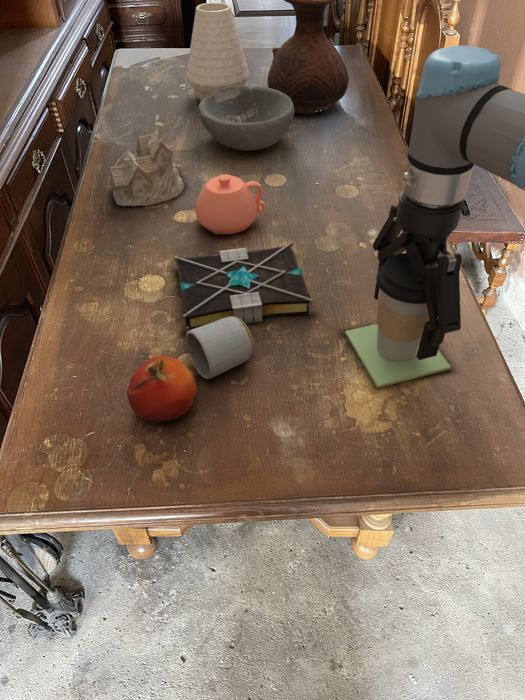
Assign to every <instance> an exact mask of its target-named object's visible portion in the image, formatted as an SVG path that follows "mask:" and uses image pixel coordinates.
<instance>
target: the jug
mask: <svg viewBox="0 0 525 700" xmlns="http://www.w3.org/2000/svg"><path fill="white" fill-rule="evenodd" d="M283 1H284V2H286V3H288V4H290V5H291V6H292V8H293V10H294V13H295V29H294V33H293V35H292V36H291V37H289V38H288V39H287V40H285V42H283V43H282V45H281V46H280V47H272V49H271V50H272V60H271V65H270V68H269V70H268V73H267V80H266V82H267V83H266V84H267V88H271V89H275V90H278V91H280V92H282V93H284V94H286V95H287V96H288V97H289V98H290V99H291V100H292V102H293V105H294V114H300V115H314V114H318V113H322V112H324V111H327V110H328V109H330V108H331V107H333V106H334V105H335V104H337V103H338V102H339V101H340V100H341V99H342V98H344V96H345V95H346V92H347V90H348V87H349V79H350V78H349V72H348V69H347V66H346V64H345V62H344V60H343V57H342V56H341V54H340V52H339V50H338V49H337V48H336V46H335V45H334V44H333V42H331V40H330V39H329V38H328V37H327V36H326V32H325V25H324V23H325V22H324V21H325V20H324V19H325V18H324V17H325V11H326V7H327V6H328V5H329V4H332V3H335V2H336V0H283ZM326 108H327V109H326ZM320 110H321V111H320ZM316 111H317V112H316Z"/></svg>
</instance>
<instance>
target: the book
mask: <svg viewBox="0 0 525 700" xmlns="http://www.w3.org/2000/svg"><path fill="white" fill-rule="evenodd" d="M293 247H294V242H292V241H290V242H289V243H286V245H281V246H276V247H272V248H271V247H270V248H266V249H261V250H260V249H259V250H252V251H251V250H250V251H248V250H247V247H240V248H233V249H231V248H230V249H225V250H224V249H223V250H219V254H214V255H205V256H193V257H180V256H177V255H175V256H174V262H176V267H175V268H174V269H175V272H176V273H177V274H178V275H177V276H178V280H179V286H180V294H181V301H182V307H183V308H182V309H183V315H182V320H183V321H184V322H185V331H186V333H187V332H188V331H190V330H192V329H195V328H198V327H201V326H204V325H207V324H210V323H213V322H215V321H218V320H220V319H223V318H227V317H233V316H234V317H238V318H240V319H241V320H242V321H243V322H244V323H245V324H251V323H257V322H263V318H269V317H276V316H277V317H278V316H290V315H291V316H292V315H309V316H312V310H311V309H310V306H309V303H310V304H311V305H313V303H314V298H311V295H310V292H309V290H308V287H307V285H306V282H305V279H304V277H303V273H302V266H300V265H299V263H298V260H297V258H296V254H295V251H294V249H293Z"/></svg>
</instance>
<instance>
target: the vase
mask: <svg viewBox="0 0 525 700" xmlns="http://www.w3.org/2000/svg"><path fill="white" fill-rule="evenodd" d="M190 40H191V41H190V47H189V54H188V59H187V60H188V61H187V67H186V74H185V76H186V80H187V82H188V84H189V85H190V87H191V89H192V90H193V92H194V93H195V95H196V97H197V98H198V100H199V99H200V100H201V101H202V100H203V99H204V98H206V97H208V96H209V95H211V94H212V93H213V92H215V91H217V90H219V89H221V88H227V87H230V86H246V85H247V83H248V80H249V78H250V71H249V70H250V69H249V67H248V62H247V60H246V56H245V52H244V50H243V45H242V42H241V38H240V36H239V31H238V28H237V25H236V21H235V18H234V15H233V11H232V7H231V5H230V4H228V3H225V2H205V3H201V4H198V5H197V6H196V7H195V13H194V20H193V27H192V33H191V39H190ZM200 100H199V101H200ZM201 101H200V102H201Z"/></svg>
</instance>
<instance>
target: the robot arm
mask: <svg viewBox="0 0 525 700" xmlns="http://www.w3.org/2000/svg"><path fill="white" fill-rule="evenodd" d="M501 67H502V60H501V58H500V57H499V55H498V54H495V53H494V52H493V51H492V50H490V49H487V48H484V47H479V46H473V45H450V46H445V47H441V48H437V49H436V50H434V51H433V52H431V53H430V54H429V55H428V56H427V58H426V59H425V61H424V64H423V69H422V73H421V78H420V81H419V85H418V90H417V92H416V94H415V104H414V105H415V106H414V110H413V111H414V112H413V118H412V119H413V120H412V126H411V133H410V139H409V146H408V150H407V155H406V161H405V168H404V172H403V174H402V184H401V191H400V193H399V198H398V204H392V205H390V209H389V213H388V217H387V219H386V221H385V222H384V224H383V226H382V227H381V229H380V230H379V233H378V234H377V236H376V237H375V239H374V241H373V242H372V249H373V251H374V252H375V251H377V255H376V256H377V260H378V267H377V273H378V272H379V269H380V267H381V266H382V265H383V264H384V263H386V261H387V260H388V259H389V258H391V257H392V256H395V255H397V254H401V253H406V254H407V255H408V256H409V257H411V258H412V259H413V261H414V263H415V264H416V268H417V273H418V275H419V276H420V277H422V281H423V287H424V292H425V298H426V304H427V309H428V315H429V321H427V322H425V325H424V329H423V333H422V336H421V340H420V344H419V348H418V352H417V356H416V357H417V358H418V360H422V359H426V358H430V357H434V356H437V352H438V350H439V349H440V345H442V344H443V342H444V339H445V337H446V334H448V333H453V332H457V331H461V328H462V324H461V323H462V322H461V321H462V320H461V319H462V317H461V286H460V281H461V280H460V272H461V266H462V261H463V258H462V257H463V256H462V254H461V253H451V252H449V250H448V245H447V244H448V243H447V242H448V238H449V236H450V235H451V234H452V233H453V232H455V230H456V229H457V228H458V225H459V223H460V219H461V216H462V211H463V207H464V204H465V198H466V196H467V194H468V192H469V187H470V183H471V178H472V175H473V171H474V168H475V166H476V167H478V168H481V169H483V170H484V171H487V172H489V173H490V174H493V175H494V176H496V177H498V178H500V179H503V180H504V181H506V182H508V183H510V184H512V185H514V186H517V188H518V189H520V190H522V191H524V192H525V93H523V92H519V91H517V90H514V89H512V88H510V87H507V86H505V85H502V84H500V83H499V81H500V77H501V75H500V74H501ZM434 262H437V264H435V268H430V269H426V268H425V266H426V265H430V264H433V263H434ZM379 290H380V288H379V286H378V284H377V280H376V282H375V288H374V294H373V298H374V300H376V301H378V294H379Z"/></svg>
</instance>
